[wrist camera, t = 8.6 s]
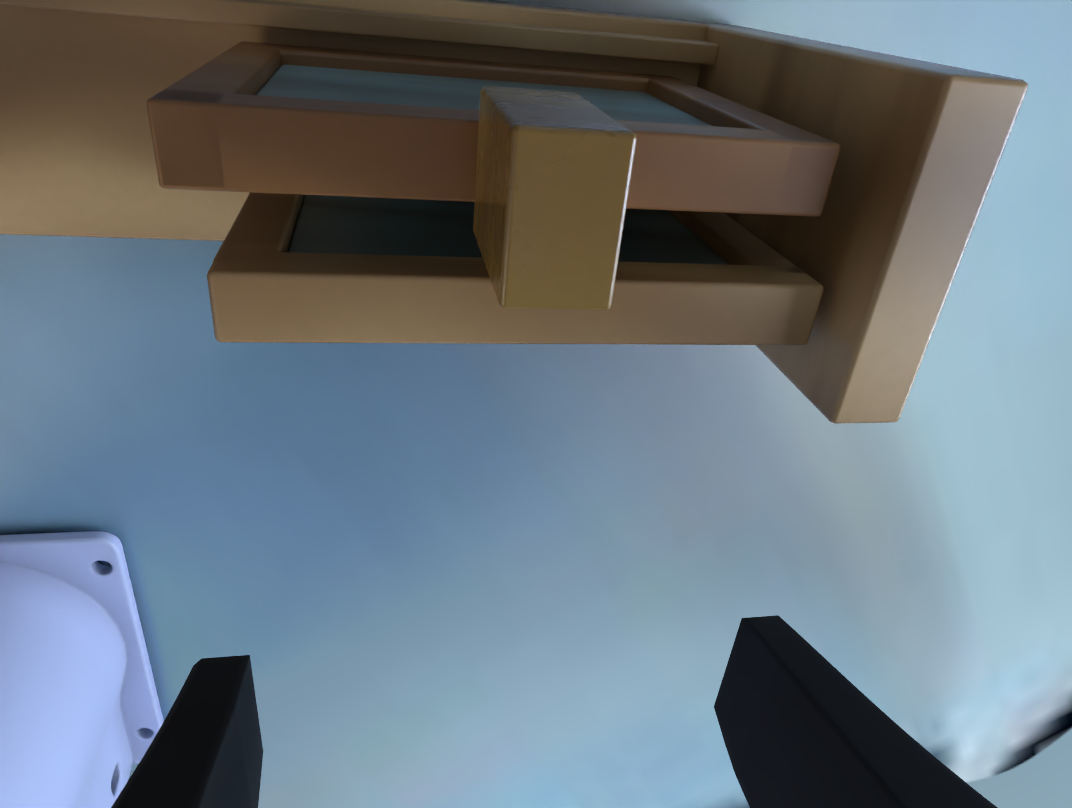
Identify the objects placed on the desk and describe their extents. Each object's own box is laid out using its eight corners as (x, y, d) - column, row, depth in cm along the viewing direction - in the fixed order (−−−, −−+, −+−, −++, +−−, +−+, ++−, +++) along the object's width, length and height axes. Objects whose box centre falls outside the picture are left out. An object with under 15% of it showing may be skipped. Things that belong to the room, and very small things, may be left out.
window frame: (694, 241, 19) (899, 424, 12) (-222, 209, 15) (-808, 458, 8) (738, 25, 17) (1034, 81, 9) (-340, -81, 13) (-1379, -134, 5)
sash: (661, 144, 16) (923, 316, 9) (247, 119, 15) (97, 305, 7) (676, 55, 16) (983, 155, 8) (236, 16, 14) (52, 95, 6)
